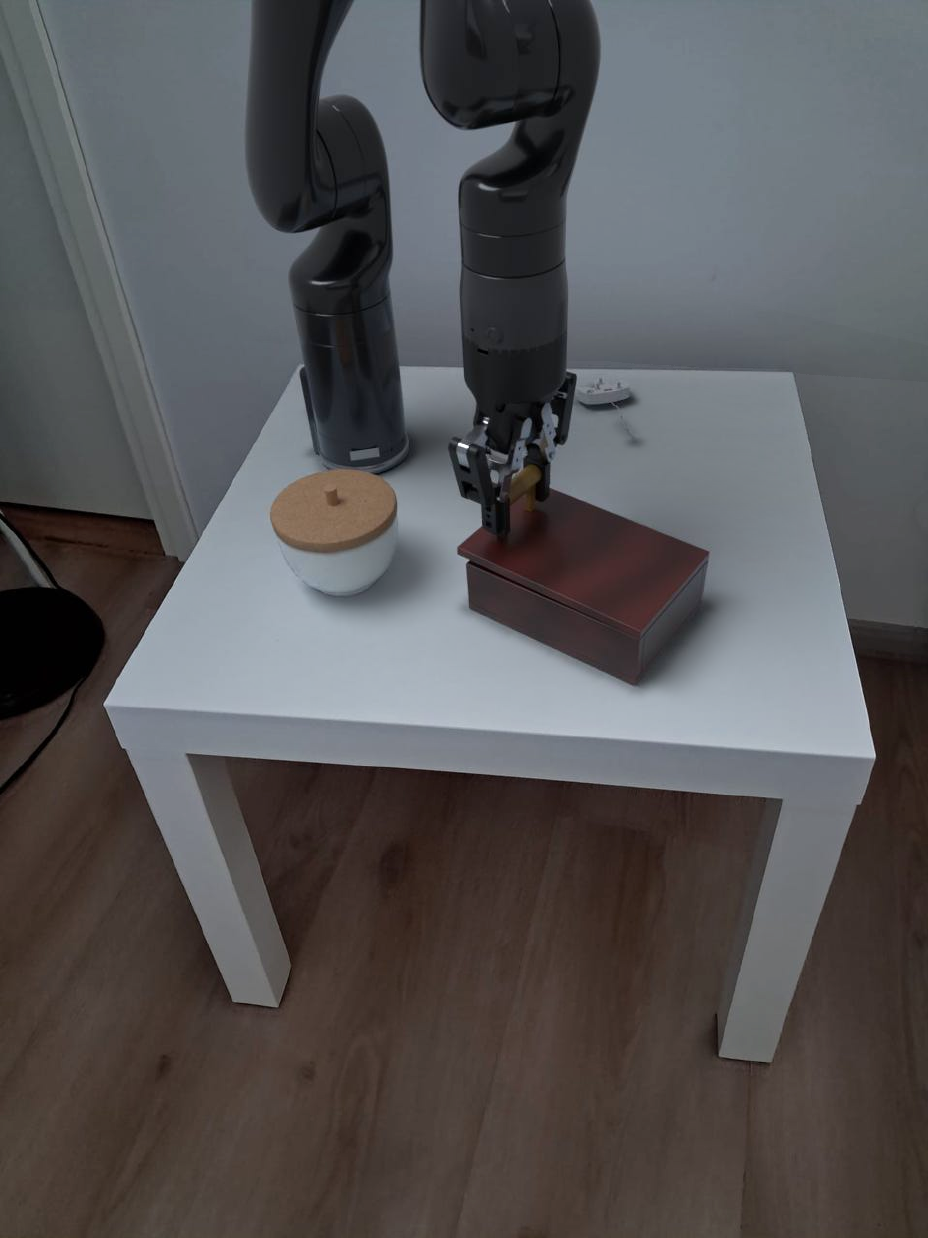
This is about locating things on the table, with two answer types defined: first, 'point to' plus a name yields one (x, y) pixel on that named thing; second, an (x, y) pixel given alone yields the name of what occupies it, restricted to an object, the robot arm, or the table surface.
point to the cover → (586, 556)
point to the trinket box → (337, 529)
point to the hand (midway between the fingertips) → (516, 513)
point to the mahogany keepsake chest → (581, 622)
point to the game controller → (604, 393)
